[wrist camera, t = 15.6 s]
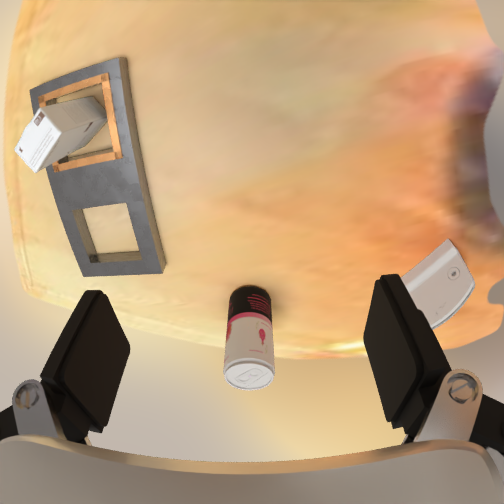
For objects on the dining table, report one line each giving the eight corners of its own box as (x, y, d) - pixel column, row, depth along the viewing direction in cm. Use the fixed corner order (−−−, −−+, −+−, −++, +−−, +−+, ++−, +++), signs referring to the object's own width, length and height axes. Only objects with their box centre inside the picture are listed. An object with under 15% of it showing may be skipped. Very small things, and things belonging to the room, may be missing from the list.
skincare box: (86, 146, 36) (35, 178, 26) (66, 125, 34) (11, 151, 24) (113, 114, 34) (63, 135, 24) (92, 92, 32) (37, 107, 22)
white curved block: (449, 236, 43) (484, 282, 37) (454, 247, 46) (485, 290, 40) (374, 298, 50) (400, 347, 43) (383, 304, 53) (408, 350, 46)
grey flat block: (39, 87, 31) (28, 90, 28) (126, 57, 30) (117, 57, 28) (89, 267, 47) (83, 277, 45) (166, 263, 46) (162, 274, 44)
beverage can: (221, 299, 50) (212, 376, 37) (251, 277, 48) (250, 355, 35) (249, 320, 53) (247, 395, 40) (278, 301, 50) (285, 378, 37)
